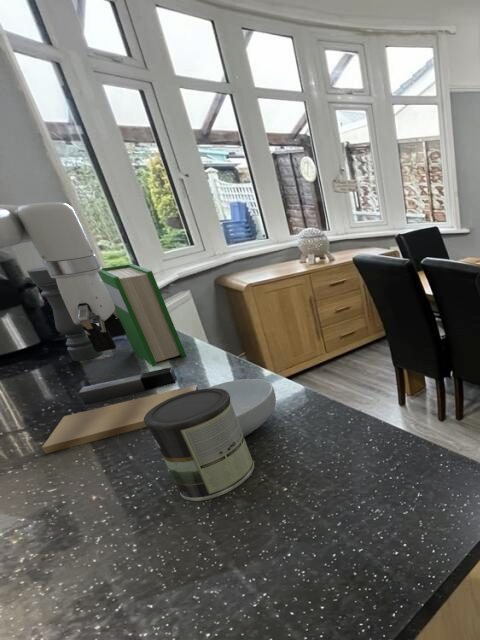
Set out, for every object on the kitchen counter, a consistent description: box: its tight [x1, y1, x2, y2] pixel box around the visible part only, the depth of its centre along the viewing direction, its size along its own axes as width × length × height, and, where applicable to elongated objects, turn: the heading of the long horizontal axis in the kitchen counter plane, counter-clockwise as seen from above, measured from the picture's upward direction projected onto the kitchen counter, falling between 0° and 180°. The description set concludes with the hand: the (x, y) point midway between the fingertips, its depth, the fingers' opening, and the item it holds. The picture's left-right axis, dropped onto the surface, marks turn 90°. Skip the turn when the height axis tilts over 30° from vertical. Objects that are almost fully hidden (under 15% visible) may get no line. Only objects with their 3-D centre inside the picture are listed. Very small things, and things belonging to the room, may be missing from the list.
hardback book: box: [98, 263, 187, 367], centre depth 106 cm, size 18×7×24 cm, turn 54°
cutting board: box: [41, 384, 199, 455], centre depth 81 cm, size 22×12×2 cm, turn 123°
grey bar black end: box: [78, 366, 178, 405], centre depth 91 cm, size 16×3×3 cm, turn 123°
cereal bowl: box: [205, 378, 277, 438], centre depth 75 cm, size 17×17×7 cm
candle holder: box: [26, 266, 104, 362], centre depth 106 cm, size 6×6×25 cm
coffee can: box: [144, 387, 255, 502], centre depth 62 cm, size 10×10×14 cm
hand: (112, 342), depth 87 cm, fingers open, 9 cm apart
